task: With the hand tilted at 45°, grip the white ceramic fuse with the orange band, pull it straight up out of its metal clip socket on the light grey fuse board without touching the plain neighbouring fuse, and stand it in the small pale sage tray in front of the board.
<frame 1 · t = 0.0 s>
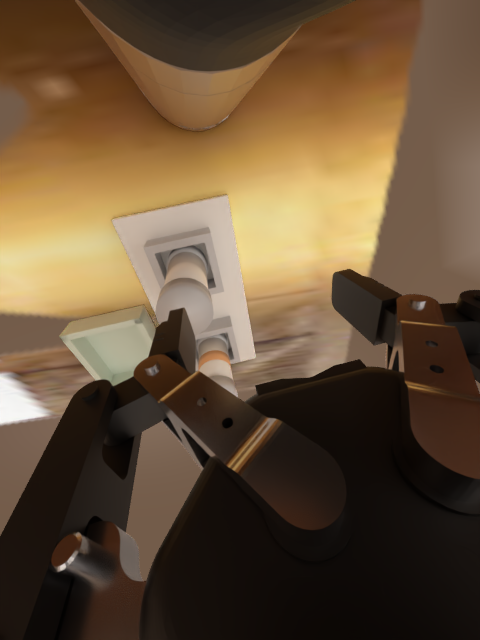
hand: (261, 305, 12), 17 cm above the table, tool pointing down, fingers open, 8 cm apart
fuse board: (200, 301, 31), on the table
parts tray: (126, 344, 33), on the table
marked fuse: (211, 339, 34), point 1 cm above the table, touching fuse board
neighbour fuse: (187, 263, 27), point 1 cm above the table, touching fuse board
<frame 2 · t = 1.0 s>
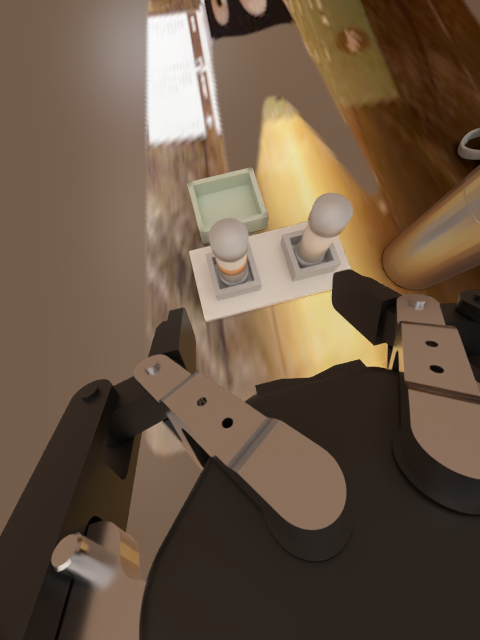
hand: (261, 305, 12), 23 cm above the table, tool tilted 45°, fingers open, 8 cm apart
fuse board: (269, 268, 37), on the table
parts tray: (228, 212, 39), on the table
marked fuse: (233, 275, 36), point 1 cm above the table, touching fuse board
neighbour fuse: (306, 257, 36), point 1 cm above the table, touching fuse board
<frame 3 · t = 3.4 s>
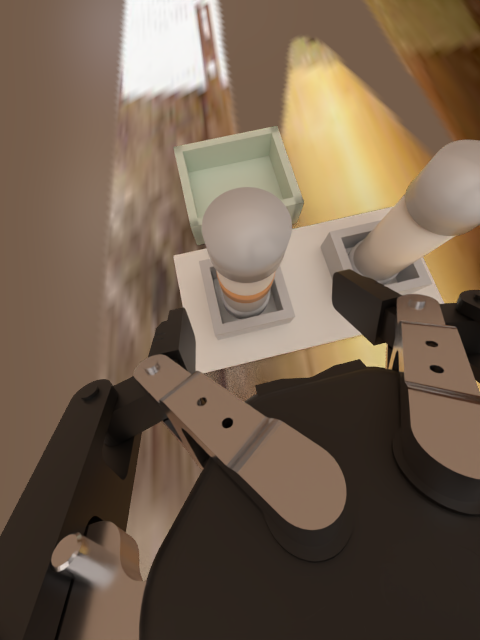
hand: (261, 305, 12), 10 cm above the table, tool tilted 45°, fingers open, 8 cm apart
fuse board: (302, 287, 23), on the table
parts tray: (237, 197, 26), on the table
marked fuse: (245, 297, 22), point 1 cm above the table, touching fuse board
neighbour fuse: (364, 269, 22), point 1 cm above the table, touching fuse board
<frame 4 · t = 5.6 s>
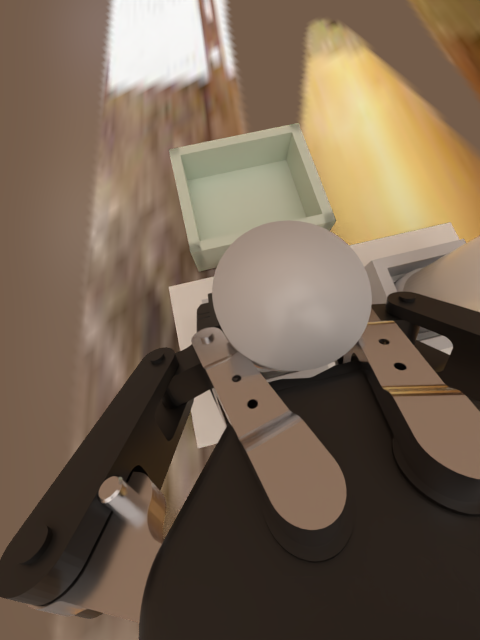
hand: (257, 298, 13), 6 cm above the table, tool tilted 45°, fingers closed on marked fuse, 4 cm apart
fuse board: (332, 326, 18), on the table
parts tray: (247, 210, 21), on the table
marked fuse: (260, 342, 17), point 1 cm above the table, touching fuse board, gripper
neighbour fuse: (411, 305, 18), point 1 cm above the table, touching fuse board
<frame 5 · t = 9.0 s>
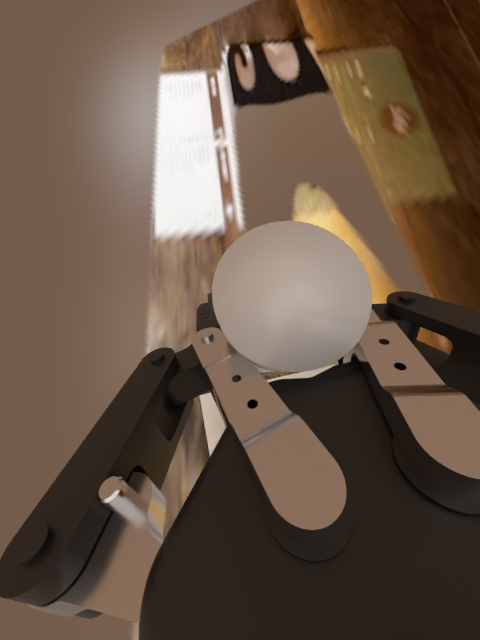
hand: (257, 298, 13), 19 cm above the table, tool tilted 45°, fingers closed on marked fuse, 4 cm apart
fuse board: (302, 421, 29), on the table
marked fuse: (260, 342, 17), point 14 cm above the table, touching gripper
when the fingers open (7 cm above the table, at t = 12.3 s): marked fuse drops 1 cm, resting on parts tray.
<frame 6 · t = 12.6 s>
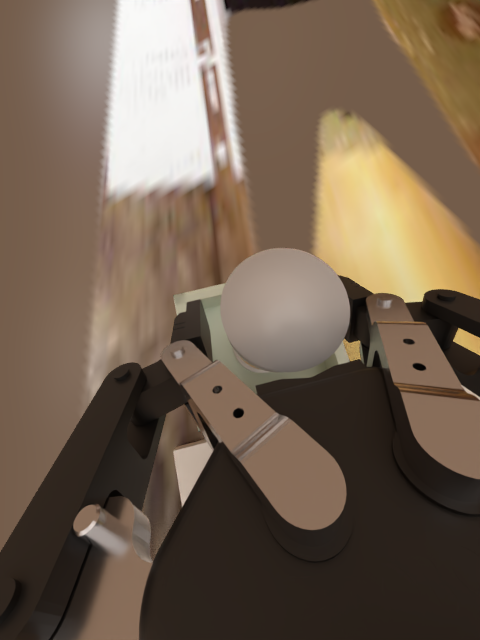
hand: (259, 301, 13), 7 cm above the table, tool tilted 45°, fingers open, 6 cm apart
fuse board: (353, 492, 17), on the table
parts tray: (258, 345, 19), on the table
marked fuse: (260, 345, 18), point 1 cm above the table, touching parts tray
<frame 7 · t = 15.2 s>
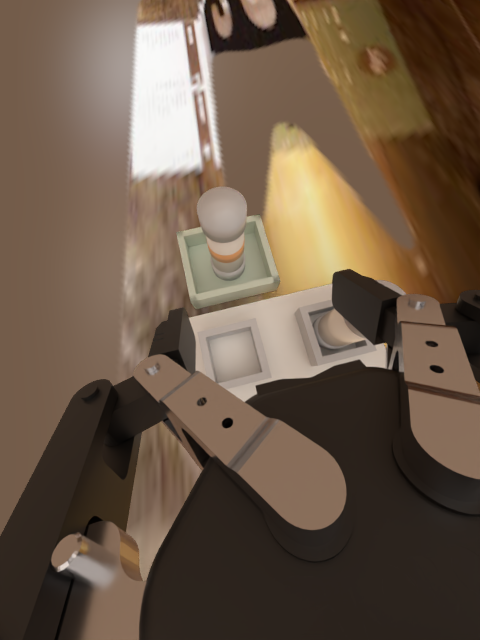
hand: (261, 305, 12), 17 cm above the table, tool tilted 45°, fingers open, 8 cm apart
fuse board: (280, 345, 29), on the table
parts tray: (228, 267, 31), on the table
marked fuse: (228, 265, 31), point 1 cm above the table, touching parts tray
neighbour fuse: (328, 332, 28), point 1 cm above the table, touching fuse board
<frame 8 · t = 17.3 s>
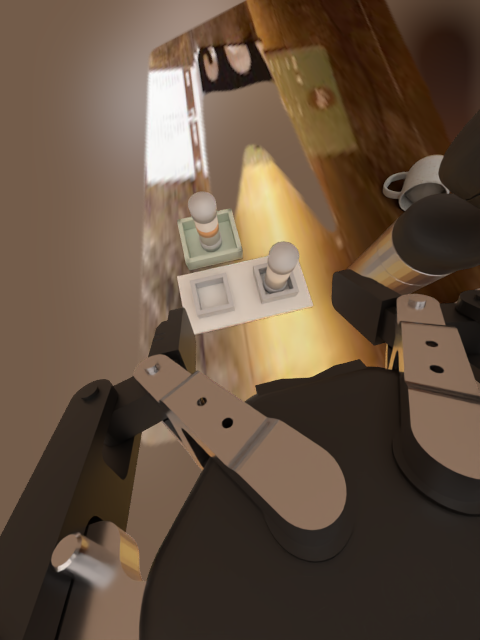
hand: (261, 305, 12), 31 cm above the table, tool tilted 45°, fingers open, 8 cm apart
fuse board: (243, 292, 45), on the table
parts tray: (211, 243, 47), on the table
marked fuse: (211, 242, 47), point 1 cm above the table, touching parts tray
ceramic mug: (404, 197, 49), on the table
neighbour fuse: (274, 283, 44), point 1 cm above the table, touching fuse board
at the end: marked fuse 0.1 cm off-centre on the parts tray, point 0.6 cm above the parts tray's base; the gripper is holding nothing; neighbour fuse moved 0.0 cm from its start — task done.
